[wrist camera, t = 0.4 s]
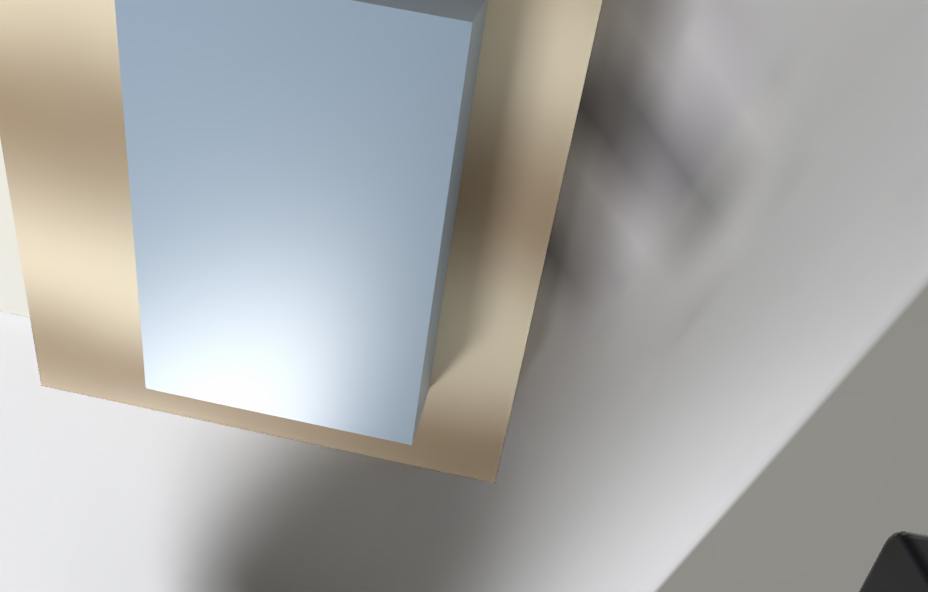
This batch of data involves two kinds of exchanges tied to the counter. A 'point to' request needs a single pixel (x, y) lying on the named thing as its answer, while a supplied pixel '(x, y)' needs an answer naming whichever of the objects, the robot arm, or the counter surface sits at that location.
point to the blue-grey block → (296, 198)
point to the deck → (112, 241)
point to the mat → (10, 255)
